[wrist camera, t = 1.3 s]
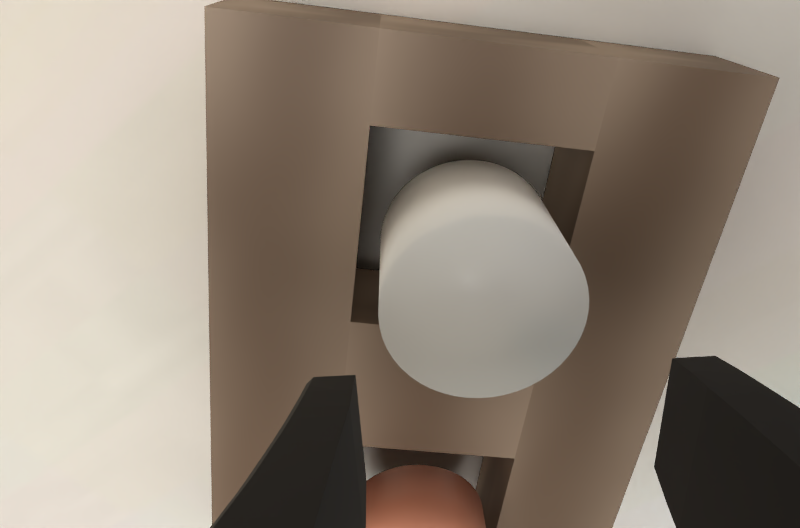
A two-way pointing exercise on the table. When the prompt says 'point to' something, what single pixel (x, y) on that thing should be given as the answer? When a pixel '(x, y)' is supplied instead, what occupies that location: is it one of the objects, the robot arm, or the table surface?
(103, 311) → the table surface
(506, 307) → the grey button
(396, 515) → the terracotta button
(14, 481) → the table surface
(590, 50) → the brown wooden tray
